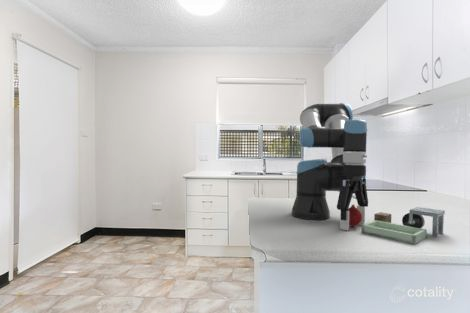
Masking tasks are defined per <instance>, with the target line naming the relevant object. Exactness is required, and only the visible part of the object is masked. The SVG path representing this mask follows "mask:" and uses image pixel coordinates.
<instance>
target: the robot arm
mask: <svg viewBox="0 0 470 313" xmlns="http://www.w3.org/2000/svg"><path fill="white" fill-rule="evenodd" d="M299 122H300V124H301V125H302V127H303V128H301V129H300V131H299V145H300V147H302V148H309V149H310V148H330V149H331V155H332V158H331V160H330V161H328V160H327V158H317V159H307V160H301V161H299V162H298V163H297V165H296V196H295V199H294V201H293V202H294V203H293V206H292V208H291V215H292V216H293V217H294V218H298V219H302V220H303V219H304V220H313V221H314V220H317V221H318V220H320V221H321V220H328V219H329V218H331V215H330V214H331V211H330V208H329V205H328V201H327V198H326V196H327V195H326V194H327V191H328V192H339V194H338V199H337V204H336V209H337V210H339V211H340V220H339V221H340V225H339V227H340V230H342V231H350V225H349V211H348V209H349V208H350V205H351V202H352V198H353V194H354V195H355V199H356V202H357V205H356V208H357V209H358V210H359V211H360V212H361V214H362V220H361V222H360V223H359V224H358V225H361V226H362V225H363V224H366V223H365V221H366V220H365V219H366V207H367V208H368V207H369V199H368V191H367V190H368V189H367V179H366V177H367V176H366V175H367V165H366V162H367V158H368V155H367V136H368V134H367V133H368V127H367V126H368V125H367V124H368V123H367V121H366V120H364V119H354V115H353V108H352V106H351V105H350V104H349V103H342V102H340V103H315V104H314V103H313V104H312V105H309V106H308V107H306V108H304V109H303V110H302V111H301V113H300V116H299Z"/></svg>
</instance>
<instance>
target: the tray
mask: <svg viewBox="0 0 470 313" xmlns="http://www.w3.org/2000/svg"><path fill="white" fill-rule="evenodd" d="M361 233H362V234H367V235H372V236H376V237H381V238H385V239H388V240H393V241H399V242H402V243H408V244H413V245H416V244H418V243H420V242H422V241H424V240H425V239H427V233H428V232H427V229H425V228H415V227H410V226H404V225H403V224H398V223H397V224H396V223H392V222H391V223H388V222H382V221H377V220H375V221H374V220H372V221H370V222H366V223H365V224H363V225H361ZM424 238H425V239H424ZM419 241H420V242H419Z"/></svg>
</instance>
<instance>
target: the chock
mask: <svg viewBox="0 0 470 313" xmlns="http://www.w3.org/2000/svg"><path fill="white" fill-rule="evenodd" d="M375 220H377V221H382V222H388V223H392V213H387V212H382V211H380V212H376V213H374V220H373V221H375Z"/></svg>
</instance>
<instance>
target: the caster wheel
mask: <svg viewBox="0 0 470 313" xmlns="http://www.w3.org/2000/svg"><path fill="white" fill-rule="evenodd" d="M445 212H446V211H445V210H444V209H437V208H436V209H435V208H429V207H421V206H417V207H414V208H410V209H409V212H408V213H406V214H404V215H403V216H402V219H401V221H402V225H404V226H410V227H415V228H421V229H423V228H424V226H425V218H424V217H425V216H427V217H431V218H432V230H431V231H432V232H431V234H432V237H433V236H435V237H434V238H438V237H439V235H438V234H444V222H445V221H444V217H445V215H446V214H445ZM437 236H438V237H437Z"/></svg>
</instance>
